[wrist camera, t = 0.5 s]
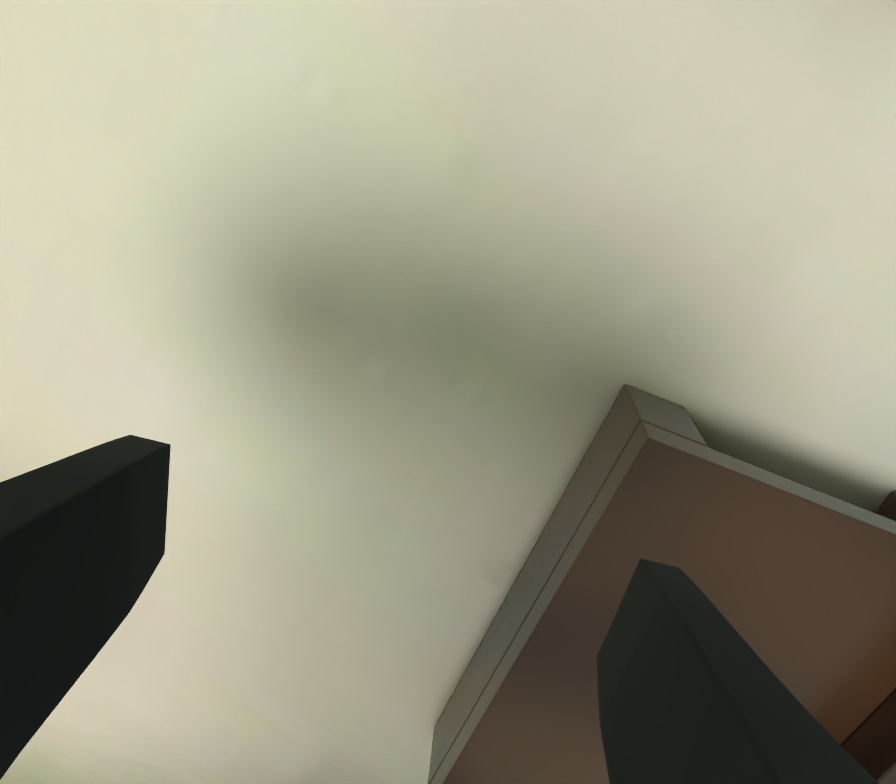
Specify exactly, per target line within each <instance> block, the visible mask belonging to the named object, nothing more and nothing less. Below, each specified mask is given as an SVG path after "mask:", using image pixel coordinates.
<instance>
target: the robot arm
mask: <svg viewBox="0 0 896 784" xmlns="http://www.w3.org/2000/svg"><path fill="white" fill-rule="evenodd" d="M169 461H170V444H166V443H162V442H158V441H154V440H149V439H145V438H141V437H137V436H133V435H128V436H125V437H122V438H119V439H115V440H113V441H110V442H107V443H104V444H101V445H98V446H96V447H93V448H90V449H88V450H85V451H82V452H80V453H77V454H74V455H72V456H69V457H67V458H64V459H61V460H59V461H56V462H54V463H51V464H48V465H46V466H43V467H40V468H38V469H35V470H32V471H30V472H27V473H24V474H22V475H19V476H16V477H14V478H11V479H9V480H6V481H3V482H1V483H0V779H1V778H2V777H3V775H4V774H5V772H6V771H7V770H8V768H9V767H10V766H11V764H12V763H13V761H14V760H15V759H16V757H17V756H18V755H19V753H20V752H21V751H22V749H23V748H24V747H25V745H26V744H27V743H28V742H29V740H30V739H31V738H32V737H33V735H34V734H35V733H36V731H37V730H38V729H39V728H40V726H41V725H42V724H43V723H44V721H45V720H46V719H47V717H48V716H49V715H50V714H51V712H52V711H53V710H54V709H55V707H56V706H57V705H58V703H59V702H60V701H61V700H62V698H63V697H64V696H65V695H66V693H67V692H68V691H69V689H70V688H71V687H72V686H73V684H74V683H75V682H76V681H77V679H78V678H79V677H80V675H81V674H82V673H83V672H84V670H85V669H86V668H87V667H88V665H89V664H90V663H91V662H92V660H93V659H94V658H95V656H96V655H97V654H98V652H99V651H100V650H101V649H102V647H103V646H104V645H105V643H106V642H107V641H108V640H109V638H110V637H111V636H112V634H113V633H114V632H115V631H116V629H117V628H118V627H119V625H120V624H121V623H122V621H123V620H124V619H125V617H126V616H127V615H128V613H129V612H130V610H131V609H132V607H133V606H134V604H135V602H136V601H137V599H138V597H139V596H140V594H141V593H142V591H143V589H144V588H145V586H146V584H147V583H148V581H149V579H150V577H151V576H152V574H153V572H154V571H155V569H156V567H157V565H158V564H159V562H160V560H161V558H162V557H163V555H164V551H165V533H166V515H167V497H168V479H169ZM597 683H598V704H599V721H600V729H601V735H602V742H603V748H604V753H605V759H606V765H607V771H608V777H609V783H610V784H879V783H878V782H877V781H876V780H875V779H874V778H873V777H872V776H871V775H870V774H869V773H868V772H867V771H866V770H865V769H864V768H863V767H862V766H861V765H860V764H859V763H858V762H857V761H856V760H855V759H854V758H853V757H852V756H851V755H850V754H849V753H848V752H847V751H846V750H845V749H844V748H843V747H842V746H841V745H840V744H839V743H838V742H837V741H836V740H835V739H834V738H833V737H832V736H831V735H830V733H829V732H828V731H827V730H826V729H825V728H824V727H823V726H822V725H821V724H820V723H819V722H818V721H817V720H816V719H815V718H814V717H813V716H812V715H811V714H810V713H809V712H808V710H807V709H806V708H805V707H804V706H803V705H802V704H801V703H800V702H799V701H798V700H797V699H796V698H795V696H794V695H793V694H792V693H791V692H790V691H789V690H788V689H787V688H786V687H785V685H784V684H783V683H782V682H781V681H780V680H779V679H778V678H777V677H776V675H775V674H774V673H773V672H772V671H771V670H770V669H769V668H768V666H767V665H766V664H765V663H764V662H763V661H762V660H761V659H760V657H759V656H758V655H757V654H756V653H755V652H754V651H753V649H752V648H751V647H750V646H749V645H748V644H747V643H746V641H745V640H744V639H743V638H742V637H741V636H740V634H739V633H738V632H737V631H736V630H735V629H734V628H733V626H732V625H731V624H730V623H729V622H728V621H727V619H726V618H725V617H724V616H723V615H722V614H721V612H720V611H719V610H718V609H717V608H716V607H715V606H714V604H713V603H712V602H711V601H710V600H709V599H708V598H707V596H706V595H705V594H704V593H703V592H702V591H701V590H700V588H699V587H698V586H697V585H696V584H695V583H694V582H693V581H692V580H691V579H690V578H689V577H688V576H687V575H686V574H685V572H684V571H683V570H682V569H681V568H679V567H675V566H671V565H667V564H663V563H658V562H654V561H650V560H646V559H642V558H640V560H639V562H638V564H637V567H636V569H635V571H634V573H633V576H632V578H631V580H630V582H629V585H628V587H627V589H626V591H625V594H624V596H623V598H622V600H621V603H620V605H619V607H618V610H617V612H616V614H615V616H614V619H613V621H612V623H611V625H610V628H609V630H608V632H607V634H606V637H605V639H604V641H603V643H602V646H601V648H600V650H599V653H598V655H597Z"/></svg>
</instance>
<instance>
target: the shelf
mask: <svg viewBox="0 0 896 784" xmlns="http://www.w3.org/2000/svg"><path fill="white" fill-rule="evenodd" d="M640 558H642V559H646V560H650V561H654V562H658V563H663V564H667V565H671V566H675V567H679V568H681V569H682V570H683V571H684V572H685V574H686V575H687V576H688V577H689V578H690V579H691V580H692V581H693V582H694V583H695V584H696V585H697V586H698V587H699V588H700V590H701V591H702V592H703V593H704V594H705V595H706V596H707V598H708V599H709V600H710V601H711V602H712V603H713V604H714V606H715V607H716V608H717V609H718V610H719V611H720V612H721V614H722V615H723V616H724V617H725V618H726V619H727V621H728V622H729V623H730V624H731V625H732V626H733V628H734V629H735V630H736V631H737V632H738V633H739V634H740V636H741V637H742V638H743V639H744V640H745V641H746V643H747V644H748V645H749V646H750V647H751V648H752V649H753V651H754V652H755V653H756V654H757V655H758V656H759V657H760V659H761V660H762V661H763V662H764V663H765V664H766V665H767V666H768V668H769V669H770V670H771V671H772V672H773V673H774V674H775V675H776V677H777V678H778V679H779V680H780V681H781V682H782V683H783V684H784V685H785V687H786V688H787V689H788V690H789V691H790V692H791V693H792V694H793V695H794V696H795V698H796V699H797V700H798V701H799V702H800V703H801V704H802V705H803V706H804V707H805V708H806V709H807V710H808V712H809V713H810V714H811V715H812V716H813V717H814V718H815V719H816V720H817V721H818V722H819V723H820V724H821V725H822V726H823V727H824V728H825V729H826V730H827V731H828V732H829V733H830V735H831V736H832V737H833V738H834V739H835V740H836V741H837V742H838V743H839V744H840V745H841V746H842V747H843V748H844V749H845V750H846V751H847V752H848V753H849V754H850V755H851V756H852V757H853V758H854V759H855V760H856V761H857V762H858V763H859V764H860V765H861V766H862V767H863V768H864V769H865V770H866V771H867V772H868V773H869V774H870V775H871V776H872V777H873V778H874V779H875V780H876V781H877V782H878V783H879V784H896V491H893V492H892V493H891V494H890V496H889V497H888V498H887V499H886V501H885V502H884V503H883V504H882V505H881V507H880V508H879V509H878V510H877V512H876V513H873V512H871V511H868V510H866V509H863V508H861V507H858V506H855V505H853V504H850V503H848V502H845V501H843V500H840V499H838V498H835V497H833V496H830V495H828V494H825V493H822V492H820V491H817V490H815V489H812V488H810V487H807V486H805V485H802V484H800V483H797V482H794V481H792V480H789V479H787V478H784V477H782V476H779V475H777V474H774V473H772V472H769V471H767V470H764V469H761V468H759V467H756V466H754V465H751V464H749V463H746V462H744V461H741V460H739V459H736V458H734V457H731V456H728V455H726V454H723V453H721V452H718V451H716V450H713V449H711V448H708V445H707V444H706V442H705V441H704V439H703V437H702V436H701V434H700V432H699V431H698V429H697V427H696V426H695V424H694V422H693V421H692V419H691V417H690V416H689V414H688V412H687V411H686V409H685V408H684V407H682V406H680V405H677V404H675V403H672V402H670V401H667V400H665V399H662V398H659V397H657V396H654V395H652V394H649V393H647V392H644V391H642V390H639V389H637V388H634V387H632V386H629V385H624V386H623V388H622V389H621V391H620V393H619V395H618V397H617V398H616V400H615V402H614V404H613V406H612V407H611V409H610V411H609V413H608V415H607V416H606V418H605V420H604V422H603V424H602V426H601V427H600V429H599V431H598V433H597V435H596V436H595V438H594V440H593V442H592V444H591V445H590V447H589V449H588V451H587V453H586V454H585V456H584V458H583V460H582V462H581V463H580V465H579V467H578V469H577V471H576V473H575V474H574V476H573V478H572V480H571V482H570V483H569V485H568V487H567V489H566V491H565V492H564V494H563V496H562V498H561V500H560V501H559V503H558V505H557V507H556V509H555V510H554V512H553V514H552V516H551V518H550V519H549V521H548V523H547V525H546V527H545V529H544V530H543V532H542V534H541V536H540V538H539V539H538V541H537V543H536V545H535V547H534V548H533V550H532V552H531V554H530V556H529V557H528V559H527V561H526V563H525V565H524V566H523V568H522V570H521V572H520V574H519V576H518V577H517V579H516V581H515V583H514V585H513V586H512V588H511V590H510V592H509V594H508V595H507V597H506V599H505V601H504V603H503V604H502V606H501V608H500V610H499V612H498V613H497V615H496V617H495V619H494V621H493V623H492V624H491V626H490V628H489V630H488V632H487V633H486V635H485V637H484V639H483V641H482V642H481V644H480V646H479V648H478V650H477V651H476V653H475V655H474V657H473V659H472V660H471V662H470V664H469V666H468V668H467V670H466V671H465V673H464V675H463V677H462V679H461V680H460V682H459V684H458V686H457V688H456V689H455V691H454V693H453V695H452V697H451V698H450V700H449V702H448V704H447V706H446V707H445V709H444V711H443V713H442V715H441V717H440V718H439V720H438V722H437V724H436V726H435V727H434V735H433V743H432V752H431V760H430V769H429V778H428V784H610V783H609V777H608V771H607V765H606V759H605V753H604V748H603V742H602V735H601V729H600V721H599V704H598V683H597V655H598V653H599V650H600V648H601V646H602V643H603V641H604V639H605V637H606V634H607V632H608V630H609V628H610V625H611V623H612V621H613V619H614V616H615V614H616V612H617V610H618V607H619V605H620V603H621V600H622V598H623V596H624V594H625V591H626V589H627V587H628V585H629V582H630V580H631V578H632V576H633V573H634V571H635V569H636V567H637V564H638V562H639V560H640Z"/></svg>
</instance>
